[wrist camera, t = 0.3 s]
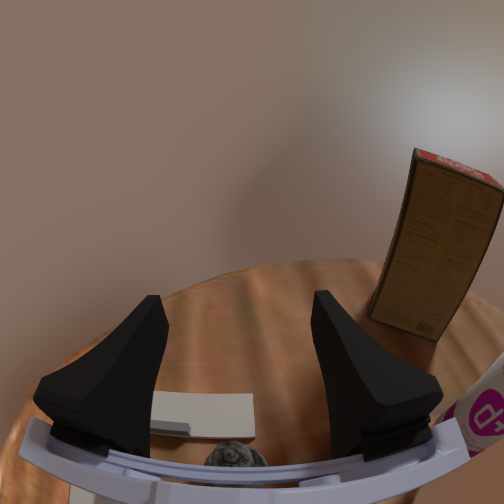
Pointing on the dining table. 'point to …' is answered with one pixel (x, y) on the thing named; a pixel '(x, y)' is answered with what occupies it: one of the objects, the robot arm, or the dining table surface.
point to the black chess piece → (235, 461)
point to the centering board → (191, 423)
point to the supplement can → (481, 410)
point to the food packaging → (436, 244)
